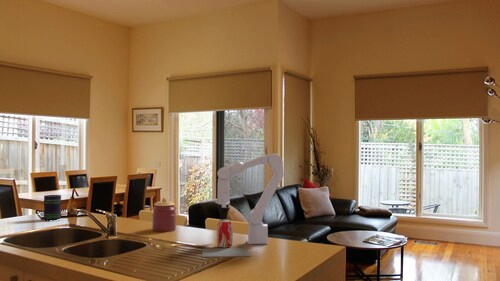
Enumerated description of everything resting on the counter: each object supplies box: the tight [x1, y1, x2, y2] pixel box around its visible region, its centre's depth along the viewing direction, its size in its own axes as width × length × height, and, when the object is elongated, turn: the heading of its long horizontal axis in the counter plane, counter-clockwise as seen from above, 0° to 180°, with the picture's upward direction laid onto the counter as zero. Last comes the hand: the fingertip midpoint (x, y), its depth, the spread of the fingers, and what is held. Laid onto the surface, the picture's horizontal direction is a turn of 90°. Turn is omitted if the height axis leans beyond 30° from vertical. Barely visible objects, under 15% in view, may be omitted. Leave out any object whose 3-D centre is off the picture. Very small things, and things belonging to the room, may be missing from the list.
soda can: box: [216, 219, 234, 248], centre depth 193 cm, size 7×7×12 cm
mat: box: [201, 247, 251, 258], centre depth 181 cm, size 20×14×1 cm
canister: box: [151, 197, 177, 233], centre depth 232 cm, size 13×13×18 cm
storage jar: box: [43, 194, 62, 221], centre depth 260 cm, size 10×10×15 cm
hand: (223, 220), depth 202 cm, fingers open, 7 cm apart
